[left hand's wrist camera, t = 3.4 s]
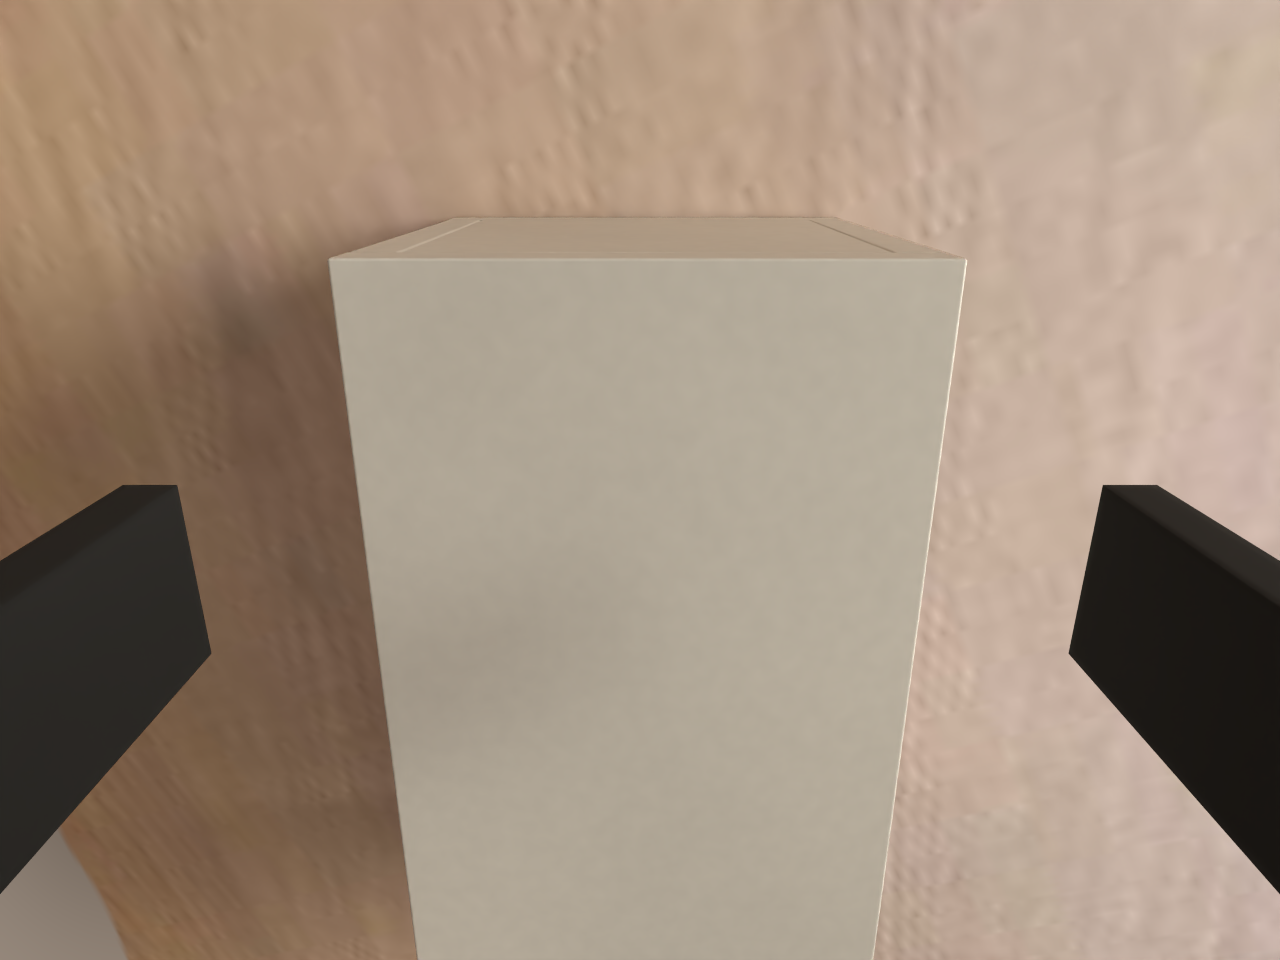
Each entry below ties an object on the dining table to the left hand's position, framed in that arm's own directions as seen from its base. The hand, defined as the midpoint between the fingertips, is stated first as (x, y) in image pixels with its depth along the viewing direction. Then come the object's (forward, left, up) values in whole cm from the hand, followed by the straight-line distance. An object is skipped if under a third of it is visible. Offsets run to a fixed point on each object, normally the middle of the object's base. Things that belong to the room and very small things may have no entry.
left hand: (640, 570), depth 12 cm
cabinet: (+5, +1, -15) cm, 16 cm away
